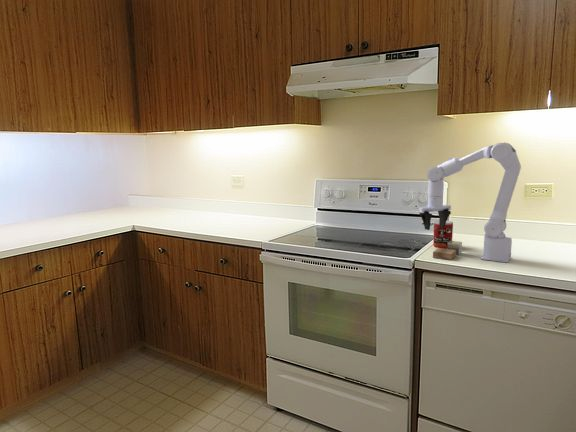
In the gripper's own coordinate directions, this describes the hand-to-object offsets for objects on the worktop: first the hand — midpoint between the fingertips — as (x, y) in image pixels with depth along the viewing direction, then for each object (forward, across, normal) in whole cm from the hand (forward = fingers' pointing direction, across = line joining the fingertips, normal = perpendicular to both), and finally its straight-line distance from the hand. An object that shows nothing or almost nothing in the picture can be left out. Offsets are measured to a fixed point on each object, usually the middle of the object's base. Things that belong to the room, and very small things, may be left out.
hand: (434, 228), depth 172 cm
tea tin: (+10, -4, +7) cm, 13 cm away
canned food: (+10, -9, -5) cm, 14 cm away
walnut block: (+10, +2, +9) cm, 13 cm away
